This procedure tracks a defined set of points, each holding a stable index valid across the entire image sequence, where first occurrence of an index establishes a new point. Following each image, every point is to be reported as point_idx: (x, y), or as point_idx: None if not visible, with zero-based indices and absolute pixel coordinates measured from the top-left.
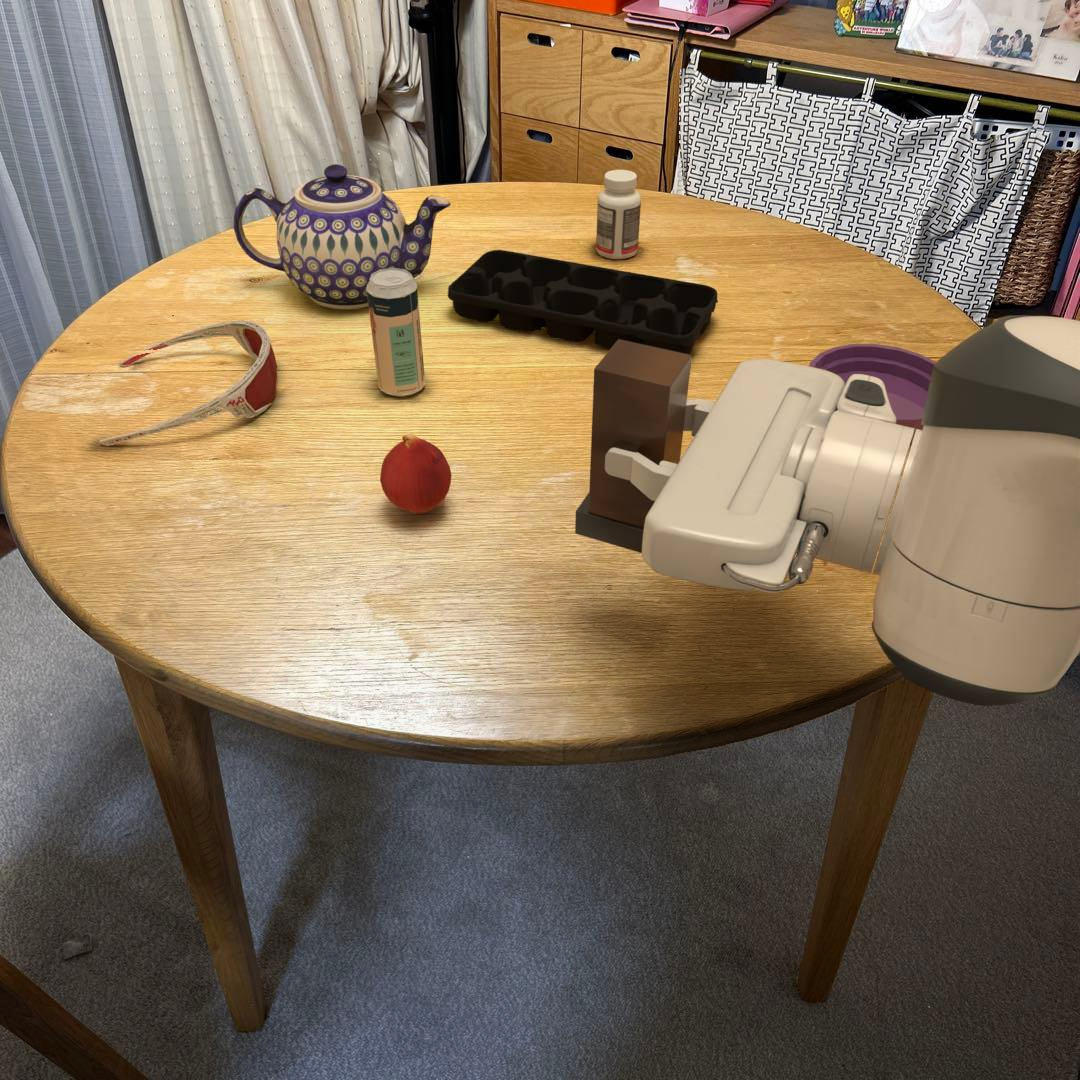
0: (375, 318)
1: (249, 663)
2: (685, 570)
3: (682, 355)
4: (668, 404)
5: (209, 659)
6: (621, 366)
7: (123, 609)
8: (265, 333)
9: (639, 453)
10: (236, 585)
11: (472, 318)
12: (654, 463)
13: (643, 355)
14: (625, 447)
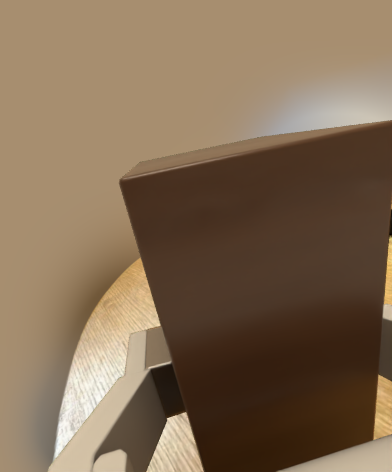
0: None
1: (94, 349)
2: None
3: (353, 126)
4: (143, 263)
5: (91, 336)
6: (170, 157)
7: (111, 297)
8: None
9: (142, 376)
10: (142, 309)
11: (389, 232)
12: (102, 439)
13: (247, 142)
14: (156, 343)
